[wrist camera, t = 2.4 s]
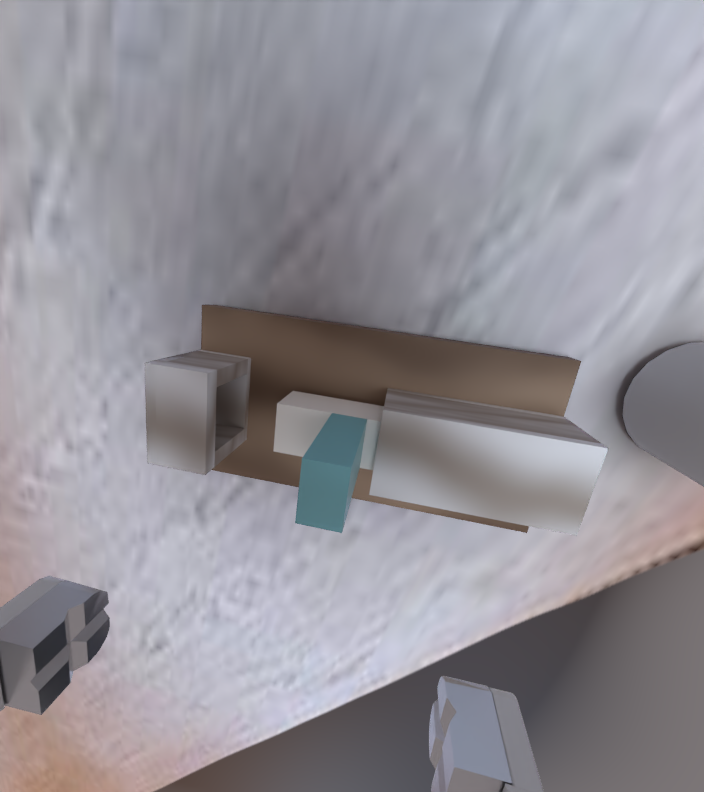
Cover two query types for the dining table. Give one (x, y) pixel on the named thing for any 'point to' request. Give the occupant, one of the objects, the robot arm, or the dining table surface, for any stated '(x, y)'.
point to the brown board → (383, 416)
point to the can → (670, 409)
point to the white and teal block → (327, 452)
